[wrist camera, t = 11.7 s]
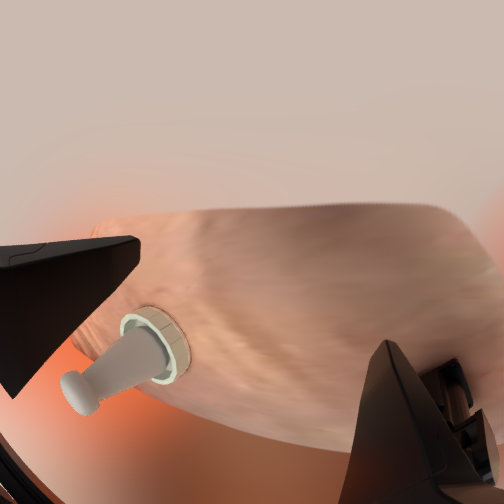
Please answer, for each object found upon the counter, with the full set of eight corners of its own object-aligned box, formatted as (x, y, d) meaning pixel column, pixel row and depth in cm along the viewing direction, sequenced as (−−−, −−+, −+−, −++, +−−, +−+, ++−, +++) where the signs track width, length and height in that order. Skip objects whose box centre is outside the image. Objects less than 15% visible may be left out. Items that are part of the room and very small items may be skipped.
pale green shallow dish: (204, 362, 26) (190, 374, 24) (165, 380, 30) (152, 390, 28) (156, 292, 27) (139, 300, 25) (126, 323, 31) (112, 330, 29)
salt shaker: (135, 329, 30) (49, 376, 18) (156, 310, 27) (53, 364, 16) (163, 369, 29) (82, 426, 18) (188, 356, 26) (94, 425, 15)
